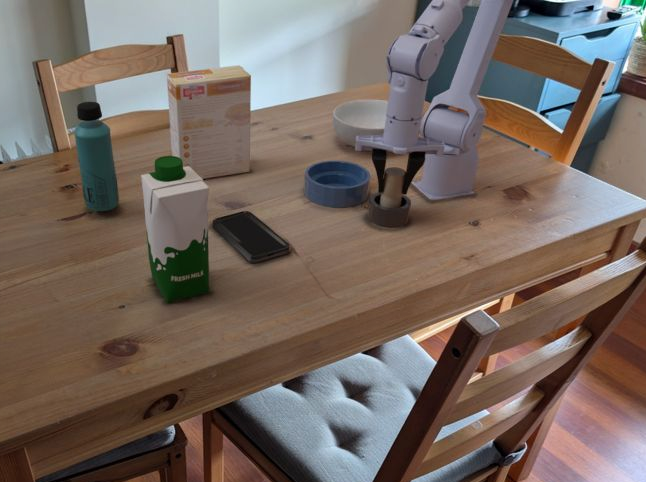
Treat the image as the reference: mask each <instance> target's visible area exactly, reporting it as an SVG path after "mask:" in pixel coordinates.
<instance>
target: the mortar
mask: <svg viewBox="0 0 646 482" xmlns="http://www.w3.org/2000/svg"><path fill="white" fill-rule="evenodd" d="M380 200H381V193H379V192H378V191H377V192H375V193H373V194H372V195H371V196H370V197H369V201H368V209H367V219H368V221H369V222H370V223H372V224H373V225H375V226H378V227H382V228H389V229H392V228H393V229H394V228H400V227H404V226H405V225H407V223H408V222H409V219H410V214H411V208H412V200H411V199H410V197H408V196H407V195H405V194H402V199H401V205H400V208H386V207H382V206H380Z"/></svg>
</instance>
